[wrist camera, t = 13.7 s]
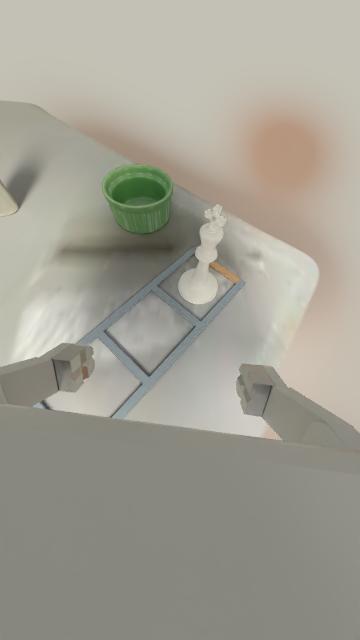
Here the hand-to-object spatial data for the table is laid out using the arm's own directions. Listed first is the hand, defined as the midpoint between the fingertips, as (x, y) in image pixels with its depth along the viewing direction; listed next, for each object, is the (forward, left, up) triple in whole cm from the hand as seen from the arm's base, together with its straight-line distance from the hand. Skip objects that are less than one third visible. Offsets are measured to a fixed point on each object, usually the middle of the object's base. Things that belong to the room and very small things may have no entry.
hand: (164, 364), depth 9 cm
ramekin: (-19, +14, -9) cm, 25 cm away
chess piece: (-5, +10, -8) cm, 14 cm away
